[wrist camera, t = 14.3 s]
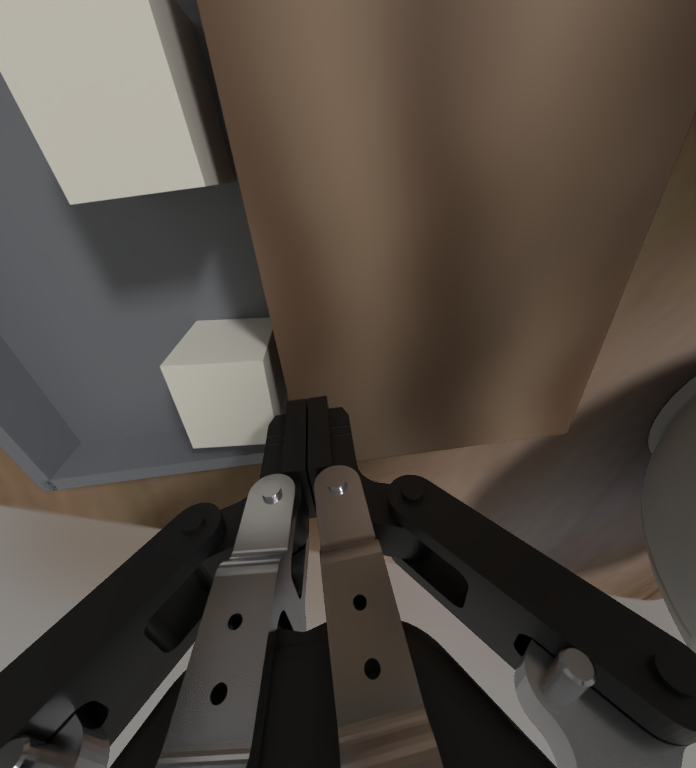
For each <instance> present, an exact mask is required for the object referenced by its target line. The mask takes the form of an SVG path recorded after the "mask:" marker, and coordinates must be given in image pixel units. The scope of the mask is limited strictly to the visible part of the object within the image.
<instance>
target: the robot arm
mask: <svg viewBox="0 0 696 768" xmlns="http://www.w3.org/2000/svg"><path fill="white" fill-rule="evenodd" d="M265 445H266V446H265V449H264V456H263V462H262V468H261V475H260V480H258V481H257V482H256V483H255V484H254V485H253V486H252V488H251V489H250V491H249V494H248V497H246V498H245V499H243V500H242V501H240V502H238V503H236V504H233V505H231V506H228V507H226V508H224V509H221V510H219V509H218V507H216V506H215V505H213V504H211V503H199V504H195V505H193V506H191V507H189V508H187V509H185V510H184V511H182V512H181V513H180V514H179V515H178V516H176V517H175V518H174V519H173V520H172V521H171V522H170V523H169V524H167V525H166V526H165V527H164V528H163V529H162V530H161V531H160V532H158V533H157V534H156V535H155V536H154V537H153V538H152V539H151V540H149V541H148V542H147V543H146V544H145V545H144V546H143V547H142V548H140V549H139V550H138V551H137V552H136V553H135V554H134V555H132V556H131V557H130V558H129V559H128V560H127V561H126V562H125V563H123V564H122V565H121V566H120V567H119V568H118V569H117V570H115V571H114V572H113V573H112V574H111V575H110V576H109V577H108V578H107V579H105V580H104V581H103V582H102V583H101V584H100V585H98V586H97V587H96V588H95V589H94V590H93V591H92V592H91V593H89V594H88V595H87V596H86V597H85V598H84V599H83V600H82V601H80V602H79V603H78V604H77V605H76V606H75V607H74V608H73V609H71V610H70V611H69V612H68V613H67V614H66V615H65V616H63V617H62V618H61V619H60V620H59V621H58V622H57V623H56V624H55V625H53V626H52V627H51V628H50V629H49V630H48V631H47V632H45V633H44V634H43V635H42V636H41V637H40V638H39V639H38V640H36V641H35V642H34V643H33V644H32V645H31V646H30V647H28V648H27V649H26V650H25V651H24V652H23V653H22V654H21V655H19V656H18V657H17V658H16V659H15V660H14V661H13V662H12V663H10V664H9V665H8V666H7V667H6V668H5V669H4V670H2V671H1V672H0V768H107V763H108V759H109V752H110V746H111V744H112V743H113V742H114V741H115V740H116V738H117V737H118V736H119V734H120V733H121V732H122V731H123V729H124V728H125V727H126V726H127V725H128V723H129V722H130V721H131V719H133V717H134V716H135V715H136V714H137V712H138V711H139V710H140V709H141V707H142V706H143V705H144V703H145V702H146V701H147V700H148V699H149V698H150V696H151V695H152V694H153V693H154V691H155V690H156V689H157V688H158V686H159V685H160V684H161V683H162V682H163V680H164V679H165V678H166V677H167V675H168V674H169V673H170V672H171V670H172V669H173V668H174V667H175V665H176V664H177V663H178V662H179V661H180V659H181V658H182V657H183V656H184V654H185V653H186V652H187V651H188V649H189V648H190V647H191V646H192V645H193V643H194V642H195V643H194V647H193V650H192V653H191V657H190V660H189V663H188V666H187V670H185V671H184V672H183V673H182V675H181V676H180V677H179V678H178V679H177V680H176V681H175V682H174V684H173V685H172V686H171V687H170V688H169V690H168V691H167V692H166V694H165V695H164V696H163V698H162V699H161V700H160V702H159V703H158V704H157V706H156V707H155V708H154V710H153V711H152V712H151V714H150V715H149V716H148V718H147V719H146V720H145V722H144V723H143V724H142V726H141V727H140V728H139V730H138V731H137V732H136V734H135V735H134V736H133V737H132V739H131V740H130V741H129V743H128V744H127V745H126V747H125V748H124V749H123V751H122V752H121V753H120V755H119V756H118V757H117V759H116V760H115V761H114V763H113V764H112V765H111V767H110V768H557V767H556V766H555V765H554V764H553V763H552V762H551V761H550V760H549V759H548V758H547V757H546V756H545V755H544V754H543V753H542V751H541V750H540V749H538V747H537V746H536V745H535V744H534V743H533V742H532V741H531V740H530V739H529V738H528V737H527V736H526V735H525V734H524V732H522V730H520V728H519V727H518V726H517V725H516V724H515V723H514V722H513V721H512V720H511V719H510V718H509V717H508V716H507V715H506V714H505V713H504V712H503V710H502V709H501V708H500V707H499V706H498V705H497V704H496V703H495V702H494V701H493V700H492V699H491V698H490V697H489V696H488V695H487V693H486V692H485V691H484V690H483V689H482V688H481V687H480V686H479V685H478V684H477V683H476V682H475V681H474V680H473V679H472V678H471V677H470V676H469V675H468V673H467V672H466V671H464V669H463V668H462V667H461V666H460V665H459V664H458V663H457V662H456V661H455V660H454V659H453V658H452V657H451V656H450V655H449V653H447V652H446V650H445V649H444V648H443V647H442V646H441V645H440V644H439V643H438V642H437V641H436V640H434V639H433V638H432V637H431V636H429V635H428V634H427V633H425V632H424V631H422V630H421V629H419V628H417V627H415V626H413V625H411V624H409V623H407V622H403V621H401V619H400V615H399V612H398V608H397V605H396V601H395V597H394V593H393V590H392V586H391V582H390V579H389V575H388V571H387V568H386V564H385V560H384V557H383V555H386V556H391V557H392V559H393V560H394V561H395V562H396V564H398V565H399V566H400V567H401V568H402V569H403V570H404V571H405V572H407V573H408V574H409V575H410V576H411V577H412V578H413V579H414V580H415V581H416V582H418V583H419V584H420V585H421V586H422V587H423V588H424V589H426V590H427V591H428V592H429V593H430V594H431V595H432V596H433V597H434V598H435V599H437V600H438V601H439V602H440V603H441V604H442V605H443V606H444V607H446V608H447V609H448V610H449V611H450V612H451V613H452V614H453V615H455V616H456V617H457V618H458V619H459V620H460V621H461V622H462V623H463V624H465V625H466V626H467V627H468V628H469V629H470V630H471V631H472V632H473V633H474V634H476V635H477V636H478V637H479V638H480V639H481V640H482V641H483V642H485V643H486V644H487V645H488V646H489V647H490V648H491V649H492V650H493V651H495V652H496V653H497V654H498V655H499V656H500V657H501V658H502V659H503V660H505V661H506V662H507V663H508V664H509V665H510V666H511V667H512V668H514V669H515V676H514V683H515V690H516V693H517V697H518V699H519V702H520V704H521V706H522V708H523V710H524V712H525V713H526V715H527V716H528V718H529V719H530V720H531V721H532V723H533V724H534V725H535V726H536V727H537V729H538V730H539V731H540V732H541V733H542V735H543V736H544V738H545V739H546V741H547V743H548V744H549V746H550V748H551V750H552V752H553V755H554V757H555V759H556V762H557V766H558V768H681V766H682V758H683V753H684V750H685V748H686V747H687V746H688V745H690V744H693V743H695V742H696V653H695V652H693V651H692V650H691V649H690V648H689V647H687V646H686V645H684V644H683V643H682V642H680V641H679V640H677V639H676V638H674V637H672V636H671V635H669V634H668V633H666V632H664V631H663V630H662V629H660V628H658V627H657V626H655V625H654V624H652V623H651V622H649V621H647V620H646V619H644V618H643V617H641V616H640V615H638V614H636V613H635V612H633V611H632V610H630V609H628V608H627V607H626V606H624V605H622V604H621V603H619V602H617V601H616V600H615V599H613V598H611V597H610V596H608V595H607V594H605V593H604V592H602V591H600V590H599V589H597V588H596V587H594V586H593V585H591V584H590V583H588V582H586V581H585V580H583V579H582V578H580V577H579V576H577V575H575V574H574V573H572V572H571V571H569V570H568V569H566V568H564V567H563V566H561V565H560V564H558V563H557V562H555V561H554V560H552V559H550V558H549V557H547V556H546V555H544V554H543V553H541V552H539V551H538V550H536V549H535V548H533V547H532V546H530V545H528V544H527V543H525V542H524V541H522V540H521V539H519V538H518V537H516V536H514V535H513V534H511V533H510V532H508V531H507V530H505V529H503V528H502V527H500V526H499V525H497V524H496V523H494V522H492V521H491V520H489V519H488V518H486V517H485V516H483V515H482V514H480V513H478V512H477V511H475V510H474V509H472V508H471V507H469V506H467V505H466V504H464V503H463V502H461V501H460V500H458V499H456V498H455V497H453V496H452V495H450V494H449V493H447V492H446V491H444V490H442V489H441V488H439V487H438V486H436V485H435V484H433V483H431V482H430V481H428V480H427V479H425V478H423V477H420V476H416V475H404V476H401V477H398V478H397V479H395V480H394V481H393V482H392V483H391V484H385V483H378V482H374V481H371V480H369V479H367V478H366V477H364V476H363V475H362V474H361V472H360V471H359V469H358V467H357V462H356V456H355V450H354V444H353V438H352V432H351V426H350V420H349V414H348V413H347V412H346V411H345V410H344V409H343V408H342V407H336V408H329V406H328V400H327V396H320V397H312V398H308V400H307V398H305V399H297V400H289V401H287V410H286V414H284V415H276V416H275V417H274V418H273V420H272V421H271V422H270V424H269V425H268V431H267V438H266V443H265ZM316 510H317V515H316ZM314 517H317V519H318V528H319V537H320V547H321V551H320V563H321V574H322V582H323V593H324V602H325V611H326V620H327V622H326V623H324V624H321V625H319V626H317V627H315V628H313V629H311V630H309V631H306V614H305V595H306V581H307V568H308V554H309V518H314Z"/></svg>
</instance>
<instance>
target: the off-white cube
mask: <svg viewBox="0 0 696 768" xmlns="http://www.w3.org/2000/svg"><path fill="white" fill-rule="evenodd" d="M160 368H161V371H162V373H163V376H164V378H165V380H166V383H167V385H168V388H169V390H170V393H171V395H172V398H173V400H174V403H175V405H176V407H177V410H178V412H179V415H180V417H181V420H182V422H183V425H184V427H185V430H186V432H187V434H188V437H189V439H190V442H191V444H192V447H193V449H194V448H209V447H225V446H241V445H257V444H265V443H266V438H267V431H268V425H269V424H270V422H271V421H272V420H273V418H274V417H275V416H276V415H283V414H284V408H285V401H286V395H287V389H286V384H285V380H284V376H283V371H282V367H281V363H280V358H279V354H278V350H277V345H276V341H275V337H274V332H273V328H272V324H271V319H270V317H265V318H244V319H222V320H201V321H196V322H195V323H194V325H193V326H192V327H191V328H190V330H189V331H188V332H187V333H186V335H185V336H184V337H183V338H182V339H181V341H180V342H179V343H178V344H177V346H176V347H175V348H174V349H173V350H172V352H171V353H170V354H169V355H168V357H167V358H166V359H165V360H164V362H163V363H162V364H161V365H160Z"/></svg>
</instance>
